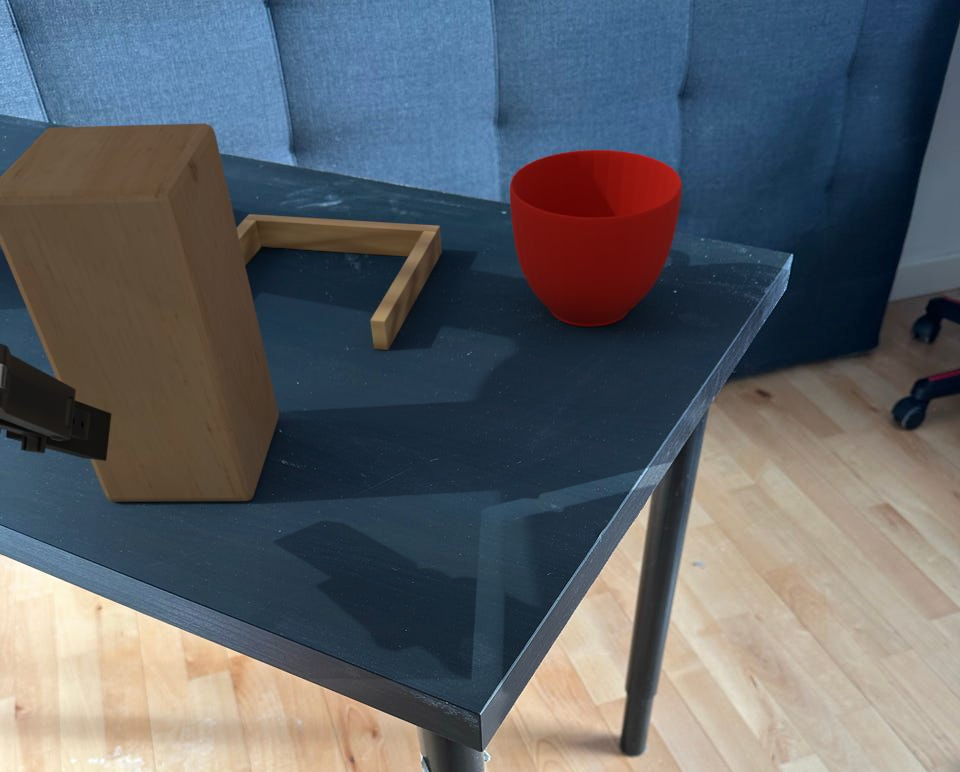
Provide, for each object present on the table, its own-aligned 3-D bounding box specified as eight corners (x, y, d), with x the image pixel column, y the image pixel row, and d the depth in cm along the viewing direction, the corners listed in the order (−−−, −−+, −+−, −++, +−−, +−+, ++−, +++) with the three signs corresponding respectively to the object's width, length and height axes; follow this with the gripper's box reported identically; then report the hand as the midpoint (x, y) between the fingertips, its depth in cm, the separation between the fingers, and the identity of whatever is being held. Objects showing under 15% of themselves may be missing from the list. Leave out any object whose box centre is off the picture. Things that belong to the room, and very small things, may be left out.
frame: (388, 350, 74) (384, 321, 72) (175, 332, 77) (167, 303, 75) (441, 252, 85) (440, 225, 84) (254, 240, 89) (248, 213, 87)
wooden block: (281, 417, 68) (214, 120, 54) (254, 504, 62) (168, 191, 47) (147, 418, 69) (45, 124, 54) (105, 504, 62) (-25, 195, 47)
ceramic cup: (609, 241, 86) (617, 123, 78) (696, 328, 75) (714, 200, 67) (475, 267, 83) (470, 148, 76) (544, 361, 72) (546, 231, 65)
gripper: (-496, 399, 32) (-10, 488, 55) (-170, 437, 29) (194, 514, 53) (-480, 174, 31) (3, 360, 54) (-147, 195, 29) (209, 380, 52)
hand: (96, 435), depth 53 cm, fingers closed
